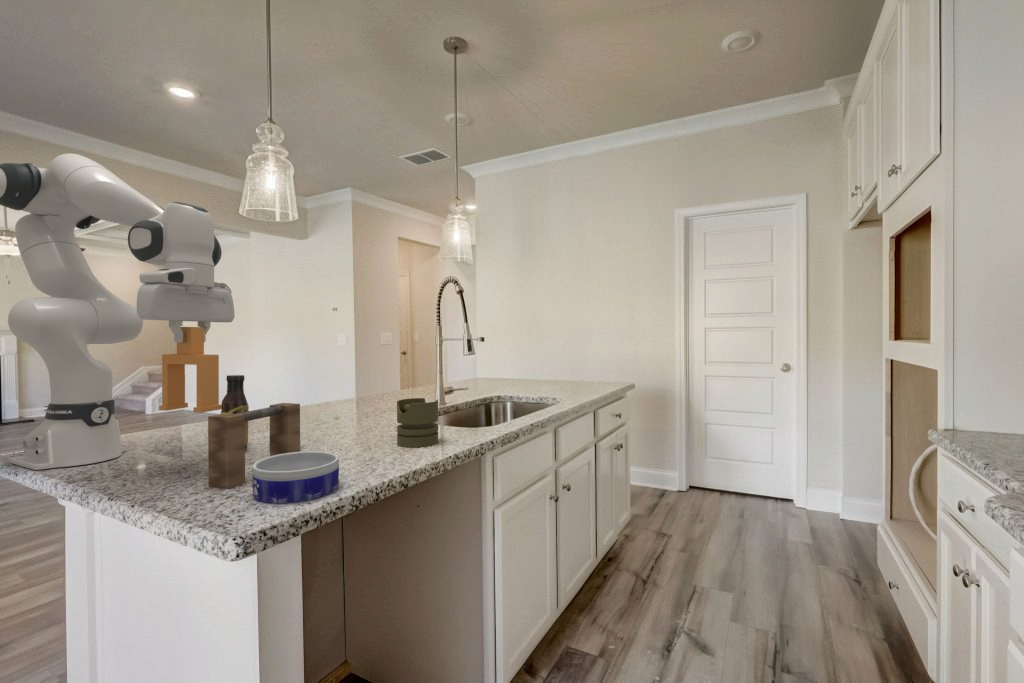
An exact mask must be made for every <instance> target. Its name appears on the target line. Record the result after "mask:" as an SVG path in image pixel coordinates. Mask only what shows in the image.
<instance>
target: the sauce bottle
mask: <svg viewBox="0 0 1024 683" xmlns="http://www.w3.org/2000/svg"><path fill="white" fill-rule="evenodd" d="M225 380H226V381H227V382H226V383H227V385H226V394H225V396H224V397H223V398H222V401H221V405H222V409H220V410H221V411H220V414H225V413H227V414H237V413H242V412H247V411H249V404H248V401H247V397H246V394H245V392H244V391H245V390H244V382H245V375H244V374H228V375H226V379H225ZM248 444H249V421H246V422H245V451H246V450H247V449H248Z"/></svg>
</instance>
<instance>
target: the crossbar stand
mask: <svg viewBox="0 0 1024 683" xmlns="http://www.w3.org/2000/svg"><path fill="white" fill-rule="evenodd" d="M264 418H269V442H270V446H269V457H270V456H274V455H279V454H285V453H292V452H301V404H300V403H294V402H293V403H292V402H291V403H289V402H280V403H275V404H269V407H264V408H260V409H255V410H248V411H247V412H242V413H237V414H227V413H225V414H221V413H220V414H215V415H210V416H207V432H208V433H207V440H208V441H207V444H208V445H207V447H208V448H207V450H208V453H207V456H208V460H207V461H208V462H207V463H208V466H207V467H208V469H207V470H208V475H207V476H208V482H207V483H208V488H216V489H226V490H229V489H232V488H234V487H238V486H240V485H243V484H245V483H246V450H245V422H246V421H248V422H249V421H254V420H258V419H264Z"/></svg>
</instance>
